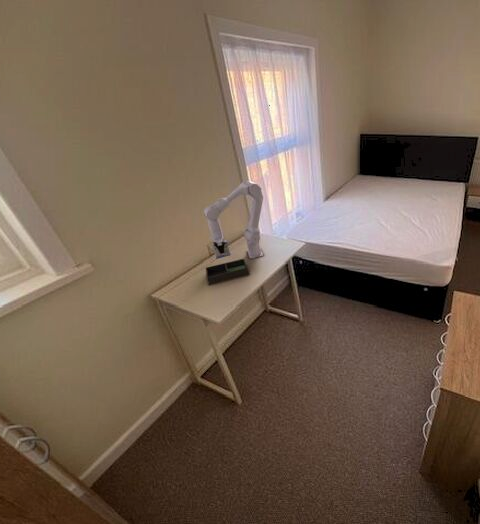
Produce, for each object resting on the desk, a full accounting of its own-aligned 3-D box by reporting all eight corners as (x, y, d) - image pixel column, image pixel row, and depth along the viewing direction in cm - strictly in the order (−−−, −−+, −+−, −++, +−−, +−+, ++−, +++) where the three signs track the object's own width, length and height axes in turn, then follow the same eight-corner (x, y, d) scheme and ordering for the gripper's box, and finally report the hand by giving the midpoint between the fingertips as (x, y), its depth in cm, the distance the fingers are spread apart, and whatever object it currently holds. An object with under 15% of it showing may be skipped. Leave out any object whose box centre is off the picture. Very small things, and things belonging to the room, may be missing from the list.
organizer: (207, 274, 156) (205, 267, 153) (245, 265, 163) (243, 258, 160) (209, 285, 148) (206, 277, 145) (248, 274, 155) (247, 267, 152)
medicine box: (216, 259, 156) (212, 245, 151) (215, 255, 159) (211, 242, 155) (230, 255, 159) (227, 242, 154) (229, 251, 162) (225, 238, 158)
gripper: (206, 225, 154) (213, 246, 162) (208, 236, 143) (215, 258, 151) (220, 222, 157) (225, 244, 164) (223, 233, 146) (229, 255, 153)
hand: (221, 251), depth 158 cm, fingers closed on medicine box, 4 cm apart
